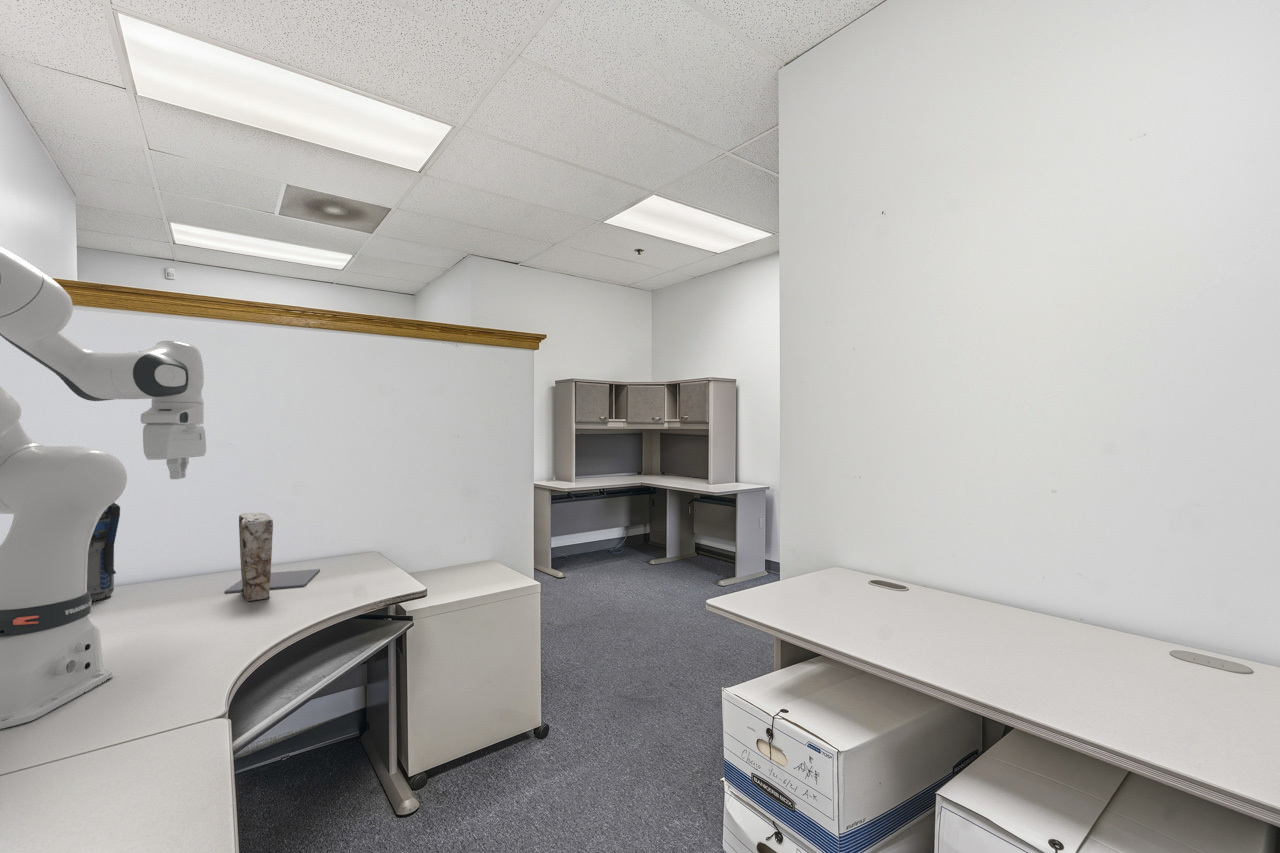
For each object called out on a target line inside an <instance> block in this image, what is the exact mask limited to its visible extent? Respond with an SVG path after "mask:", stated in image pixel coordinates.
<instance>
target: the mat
mask: <svg viewBox="0 0 1280 853" xmlns="http://www.w3.org/2000/svg"><path fill="white" fill-rule="evenodd" d="M319 572H321V569H320V568H317V569H315V568H313V569H302V570H291V571H290V570H287V571H277V572H275V571H274V572H271V575H270V589H273V590H282V589H281V588H285V589H292V588H291V587H297V588H305V587H306V586H307V585H308V584H309V583H310V582H311V581H312V580H311V579H312V578H313V577H314V576H315V577H316V576H317V575H318V573H319ZM315 577H314V578H315ZM314 578H313V579H314ZM310 580H311V581H310ZM309 581H310V582H309ZM308 582H309V583H308ZM307 583H308V584H307ZM306 584H307V585H306ZM305 585H306V586H305ZM302 586H303V587H302ZM304 586H305V587H304ZM241 589H242V578H241V579H240V580H238V581H237V582H236V583H234V584H232V585H231V586H230V587H229V588H227V589H226V590H223V591H224V593H226V594H235V593H234V592H238V593H242V592H241Z"/></svg>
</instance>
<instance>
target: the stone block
mask: <svg viewBox="0 0 1280 853" xmlns="http://www.w3.org/2000/svg"><path fill="white" fill-rule="evenodd" d="M238 529H239V530H238V533H239V535H238V536H239V551H240V552H239V558H240V570H241V571H240V573H241V579H242V589H241V592H240V593H242V596H243V597H244V599H246V601H247V602H249V601H250V602H251V601H257V600H267V599H270V598H271V597H270V591H271V590H270V575H271V573H272V555H273V553H272V552H273V531H274V520H273V517H271V516H269V515H268V514H267V513H266V512H253V513H241V514H239V516H238Z"/></svg>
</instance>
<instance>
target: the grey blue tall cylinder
mask: <svg viewBox="0 0 1280 853" xmlns="http://www.w3.org/2000/svg"><path fill="white" fill-rule="evenodd" d="M120 517H121V506H120V505H119V504H117V503H116V502H114V503H113V504H111V505H110V506H109V507H108V508H107V509H106V510H105V511H104V512H103V514H102V515H101V517H100V519H99V521H98V523H97V525H96V527H95V529H94V532H93V534H92V537H91V541H90V545H89V550H88V565H87V591H88V592H90V598H91V602H92V601H94V602H97V601H96V600H98V601H101V600H104V599H105V598H108V597H110V596H111V595H112V594H113V593H114V590H115V589H114V588H115V586H114V585H115V583H114V582H115V574H117V572H116V571H115V542H116V537H117V532H118V528H119V527H118V526H119V522H120ZM103 598H104V599H103ZM100 599H101V600H100ZM92 603H93V602H92Z"/></svg>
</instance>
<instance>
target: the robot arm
mask: <svg viewBox="0 0 1280 853" xmlns="http://www.w3.org/2000/svg"><path fill="white" fill-rule="evenodd" d="M73 305H74V304H73V300H72V297H71V295H70V294H69V293H68V292H67V290H65V289H64V288H63V286H62V285H60V284H59V283H58V282H57V281H55V280H54V279H53V278H51V277H50V276H49V275H47V274H46V273H44V272H43V271H41V270H40V269H38V268H37V267H36V266H34V265H32V264H30V263H29V262H27V261H26V260H24V259H23V258H21V257H19V256H18V255H16V254H15V253H13V252H11V251H10V250H8V249H6V248H4V247H2V246H0V337H1V338H3V339H4V340H5V341H6V342H8V343H9V344H11V345H12V346H13V347H14V348H16V349H18V350H19V351H21V352H22V353H24V354H25V355H27V356H28V357H30V358H31V359H33V360H34V361H36V362H37V363H39V364H40V365H42V366H44V367H45V368H46V369H48V370H50V371H51V372H52V373H54V374H55V375H56V376H58V378H60V380H62V382H64V384H65V385H66V386H67V387H68V389H70V390H71V391H72V392H73V393H74V394H75V395H76V396H78V397H79V398H82V399H84V400H86V401H90V402H104V401H113V400H146V399H147V400H150V399H151V406H150V408H149V409H148V410H146V411H143V412H142V413H141V415H140V423H141V424H143V429H142V444H143V448H142V449H143V453H144V456H145V458H146V459H147V460H149V461H150V460H151V461H152V460H154V461H156V460H157V461H159V460H160V461H161V460H162V461H163V460H166V465H167V468H168V471H169V479H170V480H181V479H185V478H186V476H187V473H186V472H187V468H188V465H189V462H190V461H189V460H190V458H198V457H204V456H205V455H206V452H207V444H206V442H207V441H206V439H207V438H206V431H205V427H204V426H203V425H204V418H205V417H204V409H205V408H204V403H205V402H204V399H203V397H202V392H203V391H202V390H203V388H204V384H205V382H204V381H205V378H204V376H205V375H204V373H205V372H204V362H203V357H202V354H201V352H200V350H199V349H198V348H197V347H195V346H194V345H191V344H188V343H185V342H180V341H175V340H171V341H170V340H162V341H158V342H156V344H155V345H154V346H152V347H150V348H147V349H143V350H139V351H132V352H103V351H102V352H100V351H95V350H94V351H93V350H88V349H84V348H83V347H80V346H79V345H77V344H76V343H75V342H74V341H73V340H70V339H69V338H68V337H67V336H65V335H64V334H63V333H61V331H62V330H63V329H65V327H66V326H67V324H68V323H69V322H70V320H71V318H72V315H73V313H74V312H73V310H74V309H73V308H74V306H73ZM21 416H22V409H21V405H20V404H19V402H18V401H17V400H15V398H14V397H12V395H10V394H9V393H8V392H7V391H6V390H5V389H3V388H2V386H0V515H3V514H4V515H5V514H7V515H13V518H12V522H11V525H10V528H9V530H8V533H7V535H6V537H5V538H4V540H3V541H2V543H1V544H0V730H1V729H5V728H9V727H10V728H11V727H14V726H17V725H22V724H25V723H28V722H31V721H34V720H36V719H39V718H40V717H42V716H44V715H46V714H48V713H49V712H52V711H53V710H54V709H57V708H58V707H60V706H62V705H64V704H66V703H68V702H71V700H74V699H76V698H77V697H79V696H81V695H83V694H85V693H86V692H88V691H90V690H92V689H94V688H96V687H97V685H98V686H99V685H101V684H103V683H105V682H107V681H108V680H107V679H109V678H111V677H112V676H114V675H113V671H112V670H111V669H105V668H104V661H103V659H104V658H103V651H102V641H101V632H100V629H99V628H98V627H97V626H96V625H94V624H93V622H92V621H91V620H90V618H89V616H88V615H90V613H91V612H92V611H91V610H92V609H91V608H92V607H91V606H92V603H93V602H91V598H90V592H88V591H87V565H88V550H89V545H90V541H91V537H92V534H93V532H94V529H95V527H96V525H97V523H98V521H99V519H100V517H101V515H102V514H103V512H104V511H105V510H106V509H107V508H108V507H109V506H110V505H111V504H113V503H116V501H117V500H119V498H120V497H121V496H122V495H123V493H124V491H125V489H126V487H127V483H128V475H127V470H126V468H125V466H124V464H123V463H122V461H121V460H120V459H119V458H117V457H116V456H115V455H113V454H110V453H108V452H105V451H101V450H98V449H97V450H96V449H92V448H88V447H83V446H77V445H76V446H73V445H69V446H67V445H66V446H51V445H49V446H45V445H42V444H40V443H38V442H36V441H35V440H33V439H32V438H31V437H29V436H28V435H27V433H26V432H25V430H24V428H23V426H22V425H21V423H20V421H19V420H20V419H21ZM112 678H113V677H112ZM112 678H111V679H112ZM106 680H107V681H106ZM109 680H110V679H109ZM104 681H105V682H104ZM102 682H103V683H102ZM95 686H96V687H95ZM93 687H94V688H93ZM84 692H85V693H84Z"/></svg>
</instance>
